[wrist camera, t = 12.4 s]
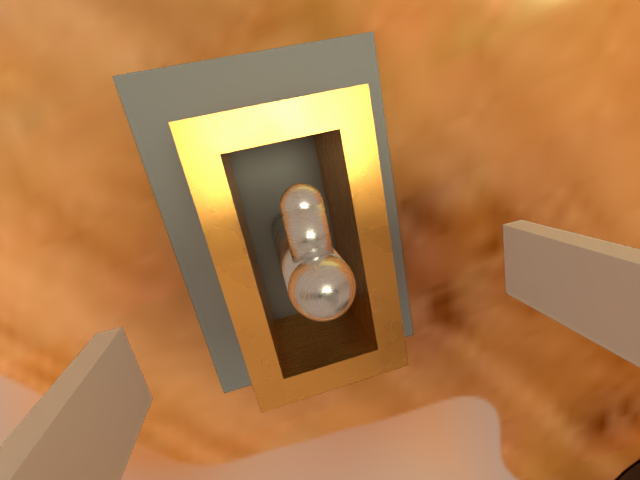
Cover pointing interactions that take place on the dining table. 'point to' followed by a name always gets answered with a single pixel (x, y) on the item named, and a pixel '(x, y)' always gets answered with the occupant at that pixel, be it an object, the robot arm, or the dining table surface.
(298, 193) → the hook
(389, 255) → the framed display niche
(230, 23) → the dining table surface
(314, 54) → the keeper plate
